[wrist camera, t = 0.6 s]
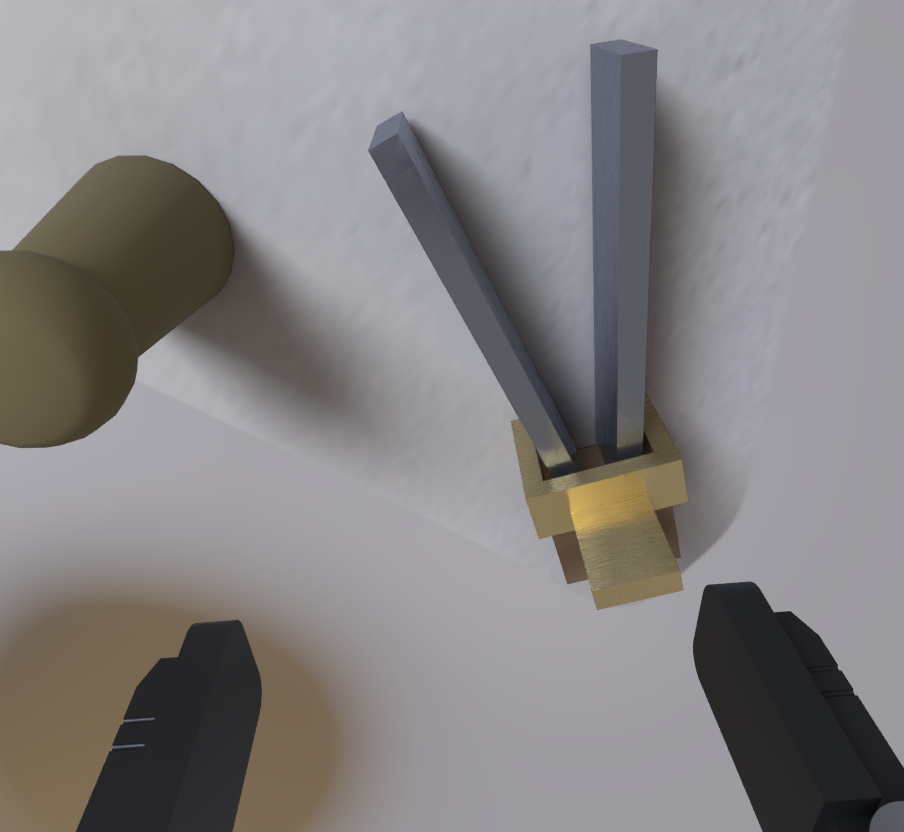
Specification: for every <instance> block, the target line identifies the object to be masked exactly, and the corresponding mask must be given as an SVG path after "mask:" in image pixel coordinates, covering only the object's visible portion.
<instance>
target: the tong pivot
mask: <svg viewBox="0 0 904 832" xmlns="http://www.w3.org/2000/svg"><path fill="white" fill-rule="evenodd" d="M577 452H578V455H579V458H580V461H581V464H582V467H583V470H588V469H592V468H596V467H600V466H603V465H605V463H604V460H603V458H602V455H601V452H600V450H599V447H598V444H597V445H593V446H590V447H586V448H582V449H578V450H577ZM643 455H644V454H643ZM541 463H542V468H543V472H544V476H545V480H550V479H553V478H552V476H551V474H550V472H549V470H548V469H547V467H546V465H545V463H544V462H543V460H542V459H541ZM654 511H655V514H656V516H657V518H658V521H659V523H660V525H661V528H662V530H663V532H664V535H665V537H666V539H667V542H668V544H669V546H670V548H671V551H672V553H673V555H674V558H675V559H676V558H680V557H681V556H680V550H679V544H678V538H677V532H676V526H675V520H674V514H673V508H672V506H670V507H666V508H662V509H658V510H654ZM552 537H553V540H554V543H555V546H556V549H557V553H558V556H559V559H560V562H561V565H562V568H563V571H564V575H565V578H566V581H567V584H571V583H575V582H579V581H583V580H588V575H587V572H586V568H585V564H584V561H583V557H582V553H581V550H580V546H579V542H578V539H577V535H576V531H575V530H573V531H569V532H565V533H561V534H557V535H553V536H552Z"/></svg>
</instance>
